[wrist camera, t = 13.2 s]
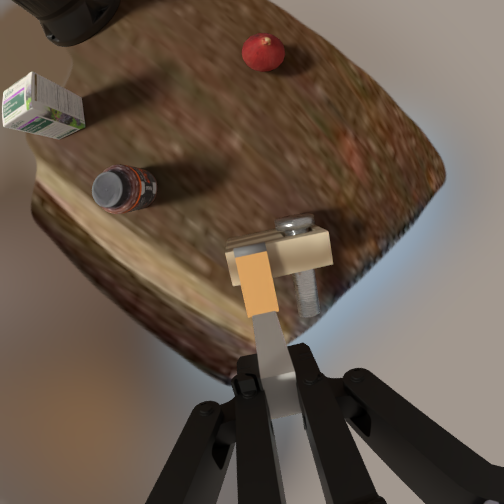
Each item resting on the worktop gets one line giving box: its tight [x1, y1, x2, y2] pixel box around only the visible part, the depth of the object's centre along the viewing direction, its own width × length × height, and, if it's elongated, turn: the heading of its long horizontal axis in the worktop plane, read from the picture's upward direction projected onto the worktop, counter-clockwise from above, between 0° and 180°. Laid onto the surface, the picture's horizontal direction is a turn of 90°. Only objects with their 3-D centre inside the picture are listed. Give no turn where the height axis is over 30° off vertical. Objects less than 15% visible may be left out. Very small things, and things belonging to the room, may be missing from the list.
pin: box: [275, 213, 320, 317], centre depth 38 cm, size 13×5×5 cm, turn 12°
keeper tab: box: [233, 242, 279, 318], centre depth 32 cm, size 8×4×1 cm, turn 12°
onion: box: [242, 33, 285, 72], centre depth 32 cm, size 6×6×8 cm
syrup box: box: [2, 72, 85, 139], centre depth 28 cm, size 6×6×14 cm
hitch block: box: [225, 225, 333, 286], centre depth 37 cm, size 4×12×9 cm, turn 101°
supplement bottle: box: [92, 165, 157, 214], centre depth 33 cm, size 6×6×11 cm
